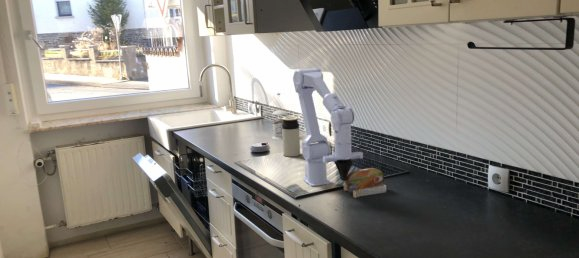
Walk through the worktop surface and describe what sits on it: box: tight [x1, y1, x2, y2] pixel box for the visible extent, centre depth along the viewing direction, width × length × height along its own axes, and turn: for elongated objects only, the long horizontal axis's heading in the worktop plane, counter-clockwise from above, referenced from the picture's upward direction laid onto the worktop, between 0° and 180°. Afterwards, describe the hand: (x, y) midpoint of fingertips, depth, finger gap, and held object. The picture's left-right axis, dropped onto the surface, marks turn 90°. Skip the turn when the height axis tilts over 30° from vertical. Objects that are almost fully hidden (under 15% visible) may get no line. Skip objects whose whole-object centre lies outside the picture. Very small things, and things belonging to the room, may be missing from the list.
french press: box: [271, 92, 291, 140], centre depth 268 cm, size 10×12×25 cm
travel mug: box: [282, 116, 301, 158], centre depth 229 cm, size 8×8×18 cm
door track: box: [343, 182, 387, 199], centre depth 175 cm, size 10×13×2 cm
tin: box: [344, 167, 385, 194], centre depth 174 cm, size 15×3×8 cm, turn 113°
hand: (343, 180), depth 171 cm, fingers closed
